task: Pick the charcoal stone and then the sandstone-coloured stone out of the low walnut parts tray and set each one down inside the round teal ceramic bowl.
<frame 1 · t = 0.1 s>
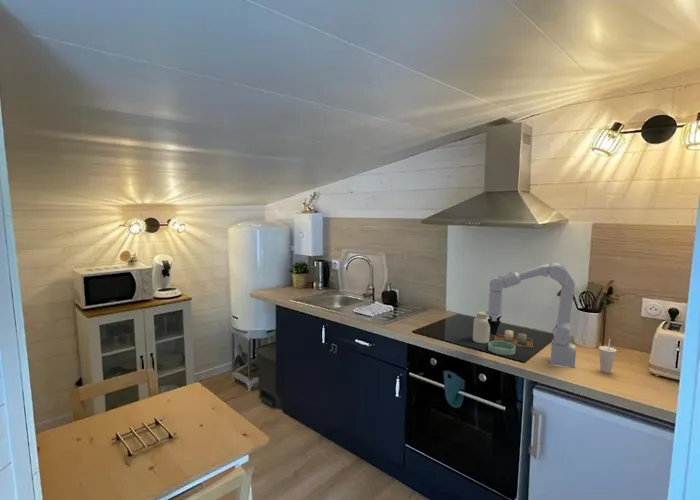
hand: (493, 332, 182), 10 cm above the kitchen counter, fingers open, 7 cm apart
pebble b: (508, 340, 197), point 1 cm above the kitchen counter, touching tray
smoothie: (605, 371, 164), on the kitchen counter
bowl: (501, 351, 185), on the kitchen counter
tray: (512, 343, 196), on the kitchen counter
pebble a: (521, 344, 192), point 1 cm above the kitchen counter, touching tray
pill bottle: (480, 341, 198), on the kitchen counter
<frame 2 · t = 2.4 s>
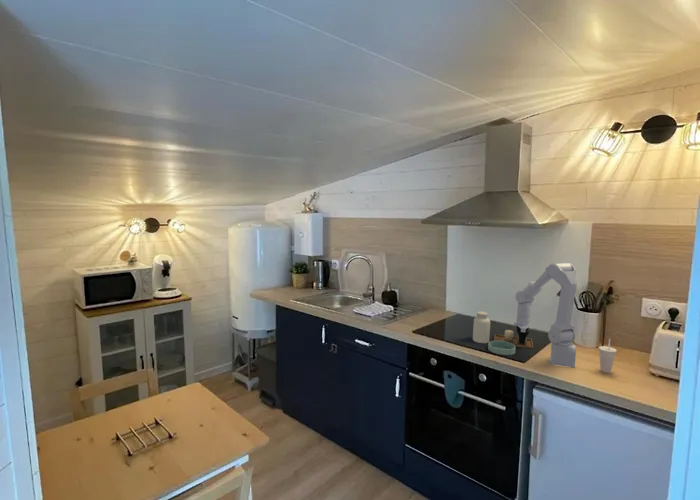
hand: (521, 342, 192), 2 cm above the kitchen counter, fingers closed on pebble a, 4 cm apart
pebble a: (521, 344, 192), point 1 cm above the kitchen counter, touching gripper, tray
everything else where it was.
when the fingers open (4 cm above the kitchen counter, at t = 5.6 s): pebble a drops 2 cm, resting on bowl.
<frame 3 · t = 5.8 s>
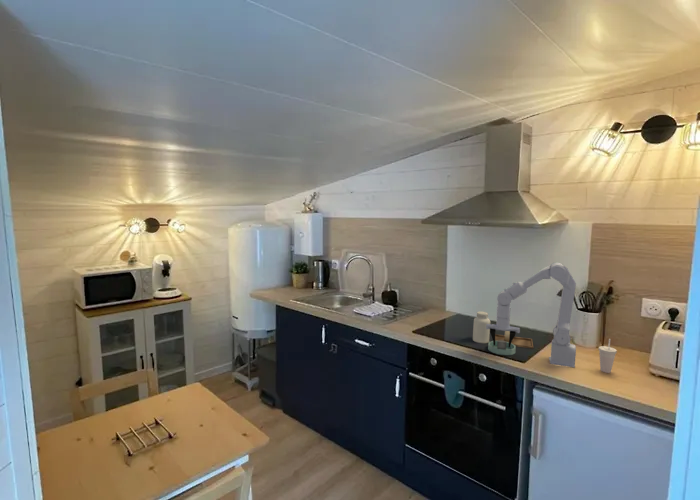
hand: (501, 345, 182), 4 cm above the kitchen counter, fingers open, 6 cm apart
pebble a: (501, 352, 182), point 1 cm above the kitchen counter, touching bowl
everything else where it was.
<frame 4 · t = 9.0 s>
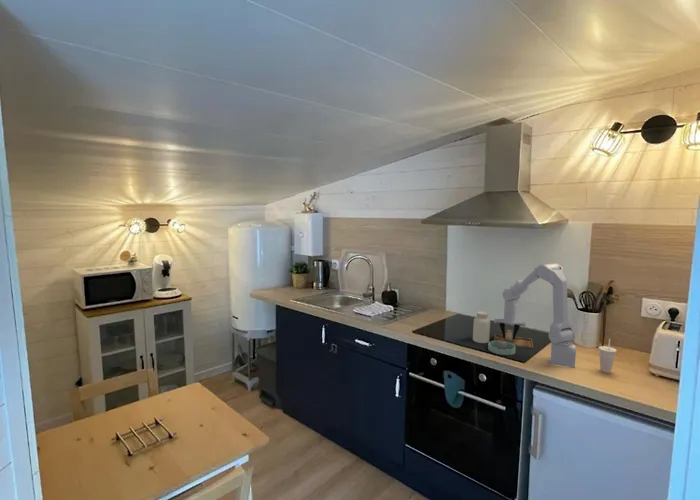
hand: (508, 338, 197), 2 cm above the kitchen counter, fingers closed on pebble b, 4 cm apart
pebble b: (508, 340, 197), point 1 cm above the kitchen counter, touching gripper, tray
everything else where it was.
when the fingers open (4 cm above the kitchen counter, at t = 11.8 s): pebble b drops 2 cm, resting on bowl.
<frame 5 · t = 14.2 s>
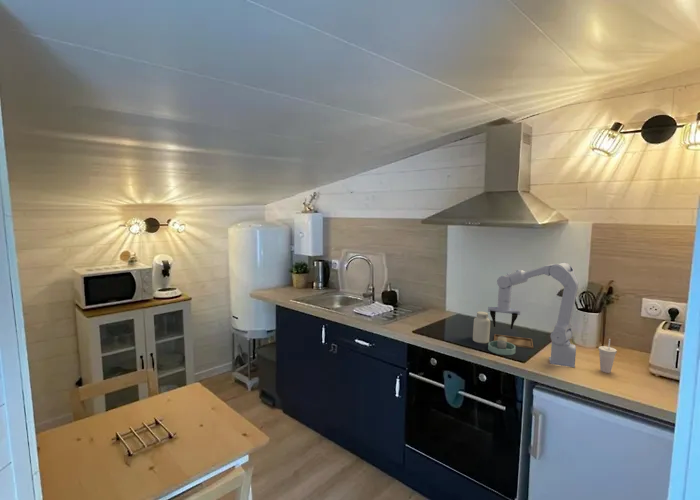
hand: (502, 327, 189), 10 cm above the kitchen counter, fingers open, 7 cm apart
pebble b: (501, 347, 187), point 1 cm above the kitchen counter, touching bowl
everything else where it was.
at the end: pebble a 2.9 cm from the bowl (horizontally); pebble b 3.1 cm from the bowl (horizontally); pebble b point 0.6 cm above the kitchen counter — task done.
